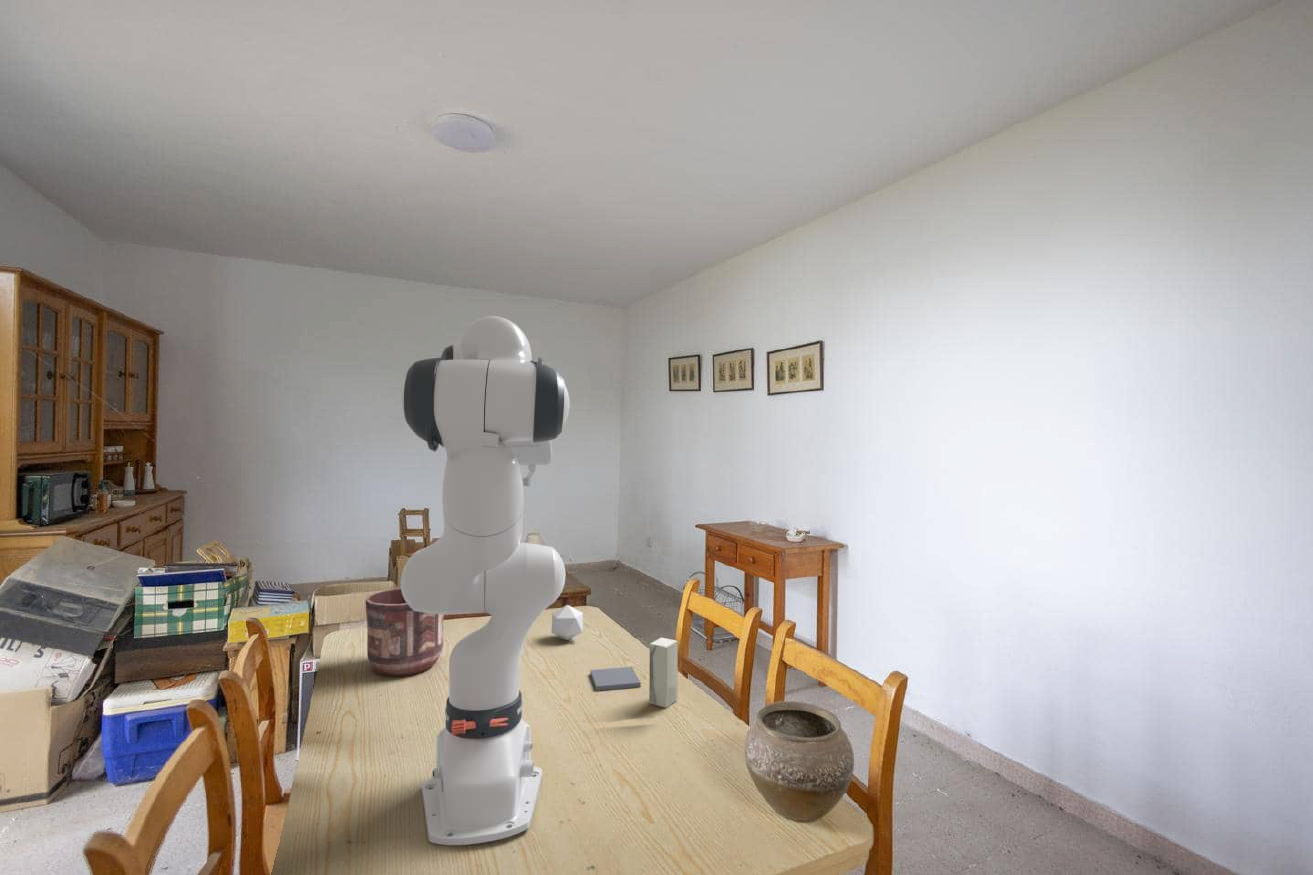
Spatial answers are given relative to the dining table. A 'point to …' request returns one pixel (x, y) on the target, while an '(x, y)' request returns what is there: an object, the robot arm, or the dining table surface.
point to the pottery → (401, 635)
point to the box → (663, 672)
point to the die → (567, 622)
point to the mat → (615, 678)
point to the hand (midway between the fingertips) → (503, 486)
